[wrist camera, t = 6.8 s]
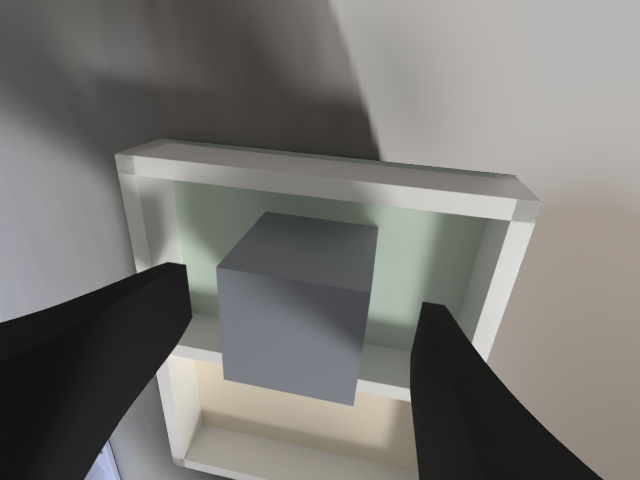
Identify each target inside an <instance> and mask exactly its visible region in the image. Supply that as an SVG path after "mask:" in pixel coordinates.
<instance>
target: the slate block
mask: <svg viewBox="0 0 640 480" xmlns="http://www.w3.org/2000/svg"><path fill="white" fill-rule="evenodd" d="M378 228H379V227H375V226H368V225H360V224H353V223H346V222H339V221H331V220H324V219H317V218H309V217H302V216H295V215H288V214H280V213H273V212H266V211H265V212H264V214H263V215H262V216H261V217H260V218H259V219H258V220H257V221H256V223H255V224H254V225H253V226H252V227H251V228H250V229H249V231H248V232H247V233H246V234H245V235H244V236H243V237H242V238H241V240H240V241H239V242H238V243H237V244H236V245H235V246H234V247H233V249H232V250H231V251H230V252H229V253H228V254H227V255H226V256H225V258H224V259H223V260H222V261H221V262H220V263H219V264H218V265H217V267H216V277H217V291H218V305H219V319H220V334H221V348H222V362H223V376H224V380H228V381H233V382H238V383H243V384H248V385H252V386H257V387H262V388H267V389H272V390H277V391H281V392H286V393H291V394H296V395H301V396H306V397H311V398H315V399H320V400H325V401H330V402H335V403H340V404H344V405H349V406H354V400H355V393H356V387H357V380H358V374H359V368H360V361H361V355H362V349H363V342H364V336H365V329H366V323H367V317H368V310H369V304H370V297H371V290H372V282H373V273H374V264H375V255H376V246H377V237H378Z"/></svg>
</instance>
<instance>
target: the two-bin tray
mask: <svg viewBox="0 0 640 480" xmlns="http://www.w3.org/2000/svg"><path fill="white" fill-rule="evenodd" d="M114 155H115V161H116V166H117V171H118V176H119V182H120V187H121V192H122V197H123V202H124V208H125V213H126V218H127V223H128V228H129V234H130V239H131V244H132V249H133V254H134V260H135V265H136V270H137V273H139V272H142V271H144V270H147V269H149V268H152V267H154V266H157V265H160V264H163V263H166V262H172V263H179V264H185V265H186V268H187V276H188V284H189V293H190V301H191V309H192V317H193V318H192V319H191V321H190V323H189V325H188V327H187V329H186V331H185V332H184V334H183V336H182V337H181V339H180V341H179V343H178V344H177V346H176V347H175V348H174V350H173V351H172V353H171V354H170V355H169V357H168V358H167V359H166V360H165V362H164V363H163V364H162V366H161V367H160V368H159V370H158V371H157V372H156V374H157V379H158V385H159V390H160V395H161V400H162V405H163V411H164V416H165V421H166V426H167V431H168V437H169V442H170V447H171V452H172V458H173V463H174V465H178V466H182V467H186V468H190V469H194V470H198V471H203V472H207V473H211V474H215V475H219V476H223V477H228V478H232V479H236V480H419V474H418V463H417V453H416V444H415V435H414V425H413V416H412V406H411V396H410V356H411V351H412V347H413V342H414V338H415V333H416V329H417V324H418V320H419V316H420V311H421V307H422V302H429V303H435V304H441V305H445V306H446V307H447V309H448V310H449V311H450V313H451V314H452V316H453V317H454V319H455V320H456V322H457V323H458V325H459V326H460V328H461V329H462V331H463V332H464V333H465V335H466V336H467V338H468V339H469V341H470V342H471V343H472V345H473V346H474V347H475V349H476V350H477V351H478V353H479V354H480V355H481V357H482V358H483V359H484V361H485V362H487V359H488V356H489V353H490V350H491V347H492V344H493V342H494V339H495V336H496V333H497V330H498V328H499V325H500V322H501V319H502V316H503V313H504V310H505V308H506V305H507V302H508V299H509V296H510V293H511V291H512V288H513V285H514V282H515V279H516V276H517V274H518V271H519V268H520V265H521V262H522V259H523V257H524V254H525V251H526V248H527V245H528V242H529V239H530V237H531V234H532V231H533V228H534V225H535V222H536V219H537V217H538V214H539V211H540V208H541V206H542V203H543V202H542V201H541V200H540V199H539V198H538V197H537V196H536V195H535V194H533V192H532V191H531V190H530V189H528V188H527V187H526V186H525V185H524V184H523V183H522V182H521V181H520V180H519V179H518V178H517V177H516V176H515V175H507V174H498V173H489V172H478V171H469V170H460V169H451V168H441V167H432V166H421V165H413V164H402V163H393V162H384V161H374V160H365V159H355V158H346V157H336V156H327V155H317V154H307V153H298V152H288V151H279V150H269V149H260V148H250V147H241V146H231V145H221V144H212V143H202V142H193V141H183V140H174V139H164V138H161V139H158V140H155V141H152V142H149V143H145V144H142V145H139V146H136V147H133V148H130V149H127V150H124V151H120V152H117V153H114ZM265 211H266V212H273V213H280V214H288V215H295V216H302V217H309V218H317V219H324V220H331V221H339V222H346V223H353V224H360V225H368V226H375V227H379V228H378V237H377V246H376V255H375V264H374V273H373V282H372V290H371V297H370V304H369V310H368V317H367V323H366V329H365V336H364V342H363V349H362V355H361V361H360V368H359V374H358V380H357V387H356V393H355V400H354V406H349V405H344V404H340V403H335V402H330V401H325V400H320V399H315V398H311V397H306V396H301V395H296V394H291V393H286V392H281V391H277V390H272V389H267V388H262V387H257V386H252V385H248V384H243V383H238V382H233V381H228V380H224V376H223V362H222V348H221V334H220V319H219V305H218V291H217V277H216V267H217V265H218V264H219V263H220V262H221V261H222V260H223V259H224V258H225V256H226V255H227V254H228V253H229V252H230V251H231V250H232V249H233V247H234V246H235V245H236V244H237V243H238V242H239V241H240V240H241V238H242V237H243V236H244V235H245V234H246V233H247V232H248V231H249V229H250V228H251V227H252V226H253V225H254V224H255V223H256V221H257V220H258V219H259V218H260V217H261V216H262V215H263V214H264V212H265Z"/></svg>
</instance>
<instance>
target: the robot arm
mask: <svg viewBox="0 0 640 480" xmlns="http://www.w3.org/2000/svg"><path fill="white" fill-rule="evenodd" d="M192 318H193V317H192V309H191V301H190V293H189V284H188V276H187V268H186V265H185V264H179V263H172V262H166V263H163V264H160V265H157V266H154V267H152V268H149V269H147V270H144V271H142V272H139V273H137V274H134V275H132V276H130V277H127V278H125V279H122V280H120V281H118V282H115V283H113V284H110V285H108V286H105V287H103V288H101V289H98V290H96V291H93V292H90V293H88V294H85V295H82V296H80V297H77V298H75V299H72V300H69V301H67V302H64V303H62V304H59V305H56V306H53V307H50V308H47V309H44V310H41V311H38V312H35V313H32V314H28V315H25V316H22V317H19V318H16V319H12V320H9V321H5V322H1V323H0V480H120V477H119V473H118V470H117V467H116V463H115V460H114V457H113V454H112V450H111V447H110V444H109V441H108V439H109V438H110V436H111V435H112V433H113V431H114V430H115V428H116V427H117V425H118V423H119V422H120V420H121V419H122V417H123V416H124V415H125V413H126V412H127V410H128V409H129V408H130V406H131V405H132V403H133V402H134V401H135V400H136V398H137V397H138V396H139V394H140V393H141V392H142V390H143V389H144V388H145V387H146V385H147V384H148V383H149V381H150V380H151V379H152V377H153V376H154V375H155V374H156V372H157V371H158V370H159V368H160V367H161V366H162V364H163V363H164V362H165V360H166V359H167V358H168V357H169V355H170V354H171V353H172V351H173V350H174V348H175V347H176V346H177V344H178V343H179V341H180V339H181V337H182V336H183V334H184V332H185V331H186V329H187V327H188V325H189V323H190V321H191V319H192ZM410 396H411V406H412V416H413V425H414V435H415V444H416V453H417V463H418V474H419V480H603V479H602V478H601V477H599V476H598V475H597V474H596V473H595V472H594V471H592V470H591V469H590V468H589V467H588V466H586V465H585V464H584V463H583V462H582V461H581V460H580V459H579V458H577V457H576V456H575V455H574V454H573V453H572V452H571V451H570V450H568V449H567V448H566V447H565V446H564V445H563V444H562V443H561V442H559V441H558V440H557V439H556V438H555V437H554V436H553V435H552V434H551V433H550V432H549V431H548V430H547V429H546V428H545V427H544V426H543V425H542V424H541V423H540V422H539V421H538V420H537V419H536V418H535V417H534V416H533V415H532V414H531V413H530V412H529V411H528V410H527V409H526V408H525V407H524V406H523V405H522V404H521V403H520V402H519V401H518V400H517V399H516V398H515V396H514V395H513V394H512V393H511V392H510V391H509V390H508V389H507V388H506V386H505V385H504V384H503V383H502V382H501V380H500V379H499V378H498V377H497V376H496V375H495V374H494V372H493V371H492V370H491V369H490V367H489V366H488V365H487V363H486V362H485V361H484V359H483V358H482V357H481V355H480V354H479V353H478V351H477V350H476V349H475V347H474V346H473V345H472V343H471V342H470V341H469V339H468V338H467V336H466V335H465V333H464V332H463V331H462V329H461V328H460V326H459V325H458V323H457V322H456V320H455V319H454V317H453V316H452V314H451V313H450V311H449V310H448V309H447V307H446V306H445V305H441V304H435V303H429V302H422V307H421V311H420V316H419V320H418V324H417V329H416V333H415V338H414V342H413V347H412V351H411V356H410Z"/></svg>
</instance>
